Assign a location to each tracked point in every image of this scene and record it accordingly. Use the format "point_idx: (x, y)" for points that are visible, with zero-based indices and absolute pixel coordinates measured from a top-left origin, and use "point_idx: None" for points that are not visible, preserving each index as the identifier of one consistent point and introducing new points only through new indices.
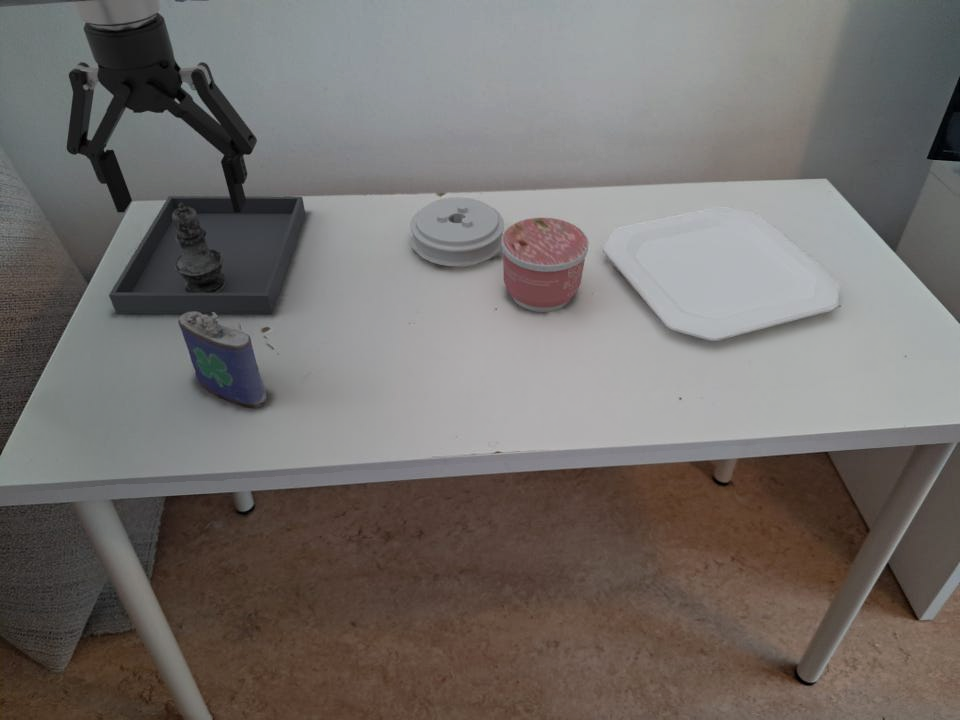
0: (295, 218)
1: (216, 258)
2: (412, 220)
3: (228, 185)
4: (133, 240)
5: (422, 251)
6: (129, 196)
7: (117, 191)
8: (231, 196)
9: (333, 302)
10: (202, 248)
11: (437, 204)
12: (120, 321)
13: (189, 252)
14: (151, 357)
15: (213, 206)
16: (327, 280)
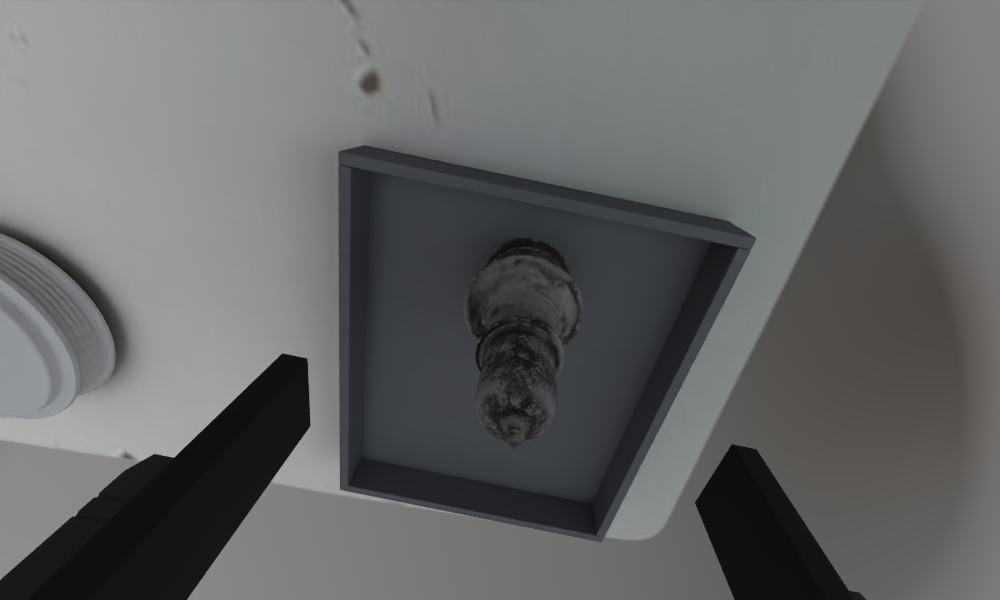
0: (340, 432)
1: (476, 309)
2: (70, 368)
3: (213, 452)
4: (674, 452)
5: (59, 285)
6: (706, 516)
7: (774, 535)
8: (256, 407)
9: (232, 165)
10: (494, 319)
11: (20, 401)
12: (722, 189)
13: (530, 308)
14: (653, 9)
15: (519, 503)
16: (267, 250)
